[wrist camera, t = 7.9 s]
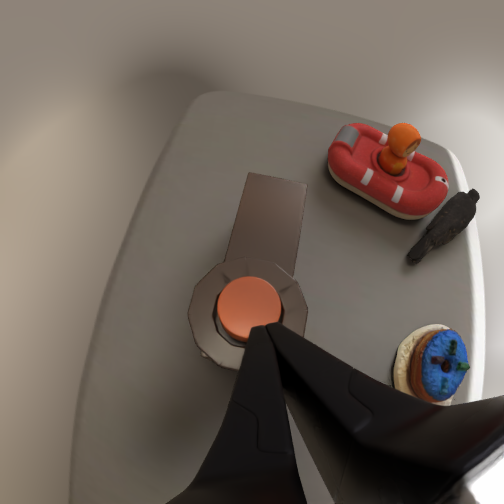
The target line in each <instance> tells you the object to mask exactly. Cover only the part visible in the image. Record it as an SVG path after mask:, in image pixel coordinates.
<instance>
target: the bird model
mask: <svg viewBox="0 0 504 504" xmlns="http://www.w3.org/2000/svg"><path fill="white" fill-rule="evenodd" d="M479 198H480V197H479V193H478V192H477V191H476V190H475V189H472V190H470V191H469V192H468V193H464V192H458V193H457V194H456V195H455V196H454V197H452V198H451V199H450V200H449V201H448V202H447V203H446V204H445V205H444V206H443V207H442V209H441V210H440V211H439V212H438V214H437V215H436V216H435V217H434V219H433V220H432V221H431V223H430V224H429V225H428V226H427V227H426V230H427V232H426V234H425V236H424V237H423V238H422V239H421V240H420V241H419V242H418V243H417V244H416V246H414V247H413V248H412V249H411V251H410V252H409V253H408V256H409V257H410V258H411V260H412V262H413V263H415V264H417V263H418V262H420V261H421V259H422V258H423V257H424V256H425V255H426V254H427V253H428V252H429V251H430V250H431V248H432V247H433V246H434V245H435V244H436V245H437V246H438V245H439V244H441V243H442V244H445V243H448V242H449V241H450V240H452V239H453V238H454V237H455V236H456V235H457V234H459V233H460V232H461V231H462V230H463V229H465V228H466V227H467V225H468V224H469V222H470V221H471V220H472V219H473V217H474V215H475V213H476V203H477V201H478V200H479Z"/></svg>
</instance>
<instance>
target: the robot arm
mask: <svg viewBox="0 0 504 504" xmlns="http://www.w3.org/2000/svg"><path fill="white" fill-rule="evenodd" d="M285 402H286V403H285ZM286 404H287V406H288V408H289V411H290V413H291V415H292V417H293V419H294V421H295V423H296V425H297V427H298V430H299V432H300V434H301V436H302V438H303V440H304V442H305V444H306V446H307V448H308V450H309V452H310V454H311V456H312V458H313V461H314V463H315V465H316V467H317V469H318V471H319V473H320V475H321V477H322V479H323V481H324V483H325V485H326V487H327V489H328V491H329V493H330V495H331V497H332V499H333V500H334V502H335V504H504V395H502V396H498V397H494V398H489V399H484V400H479V401H474V402H469V403H463V404H458V405H450V406H444V405H437V404H433V403H430V402H427V401H424V400H422V399H419V398H417V397H414V396H412V395H409V394H407V393H404V392H402V391H399V390H397V389H394V388H392V387H390V386H388V385H385V384H383V383H381V382H379V381H377V380H375V379H373V378H371V377H369V376H367V375H366V374H364V373H362V372H360V371H359V370H357V369H355V368H354V369H353V367H352V366H350V365H348V364H346V363H345V362H343V361H341V360H340V359H338V358H336V357H335V356H333V355H331V354H330V353H328V352H326V351H325V350H323V349H321V348H320V347H318V346H316V345H315V344H313V343H312V342H310V341H308V340H307V339H305V338H303V337H302V336H300V335H299V334H297V333H295V332H294V331H292V330H291V329H289V328H287V327H286V326H284V325H283V324H281V323H279V322H273V323H269V324H266V325H265V326H264V325H259V326H255V327H252V328H251V330H250V333H249V337H248V340H247V344H246V347H245V351H244V354H243V357H242V361H241V364H240V368H239V371H238V375H237V378H236V381H235V385H234V388H233V391H232V395H231V398H230V401H229V404H228V408H227V411H226V414H225V417H224V419H223V422H222V425H221V427H220V429H219V432H218V434H217V436H216V438H215V440H214V442H213V444H212V446H211V448H210V450H209V452H208V454H207V456H206V458H205V460H204V462H203V463H202V465H201V467H200V469H199V471H198V473H197V475H196V476H195V478H194V480H193V481H192V482H191V484H190V485H189V486H188V487H187V488H186V489H185V490H184V491H183V492H181V493H180V494H179V495H177V496H176V497H174V498H173V499H172V500H170V501H169V502H167V503H166V504H307V501H306V498H305V494H304V491H303V487H302V484H301V480H300V477H299V473H298V468H297V464H296V458H295V453H294V447H293V442H292V436H291V431H290V425H289V420H288V414H287V409H286Z"/></svg>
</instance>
